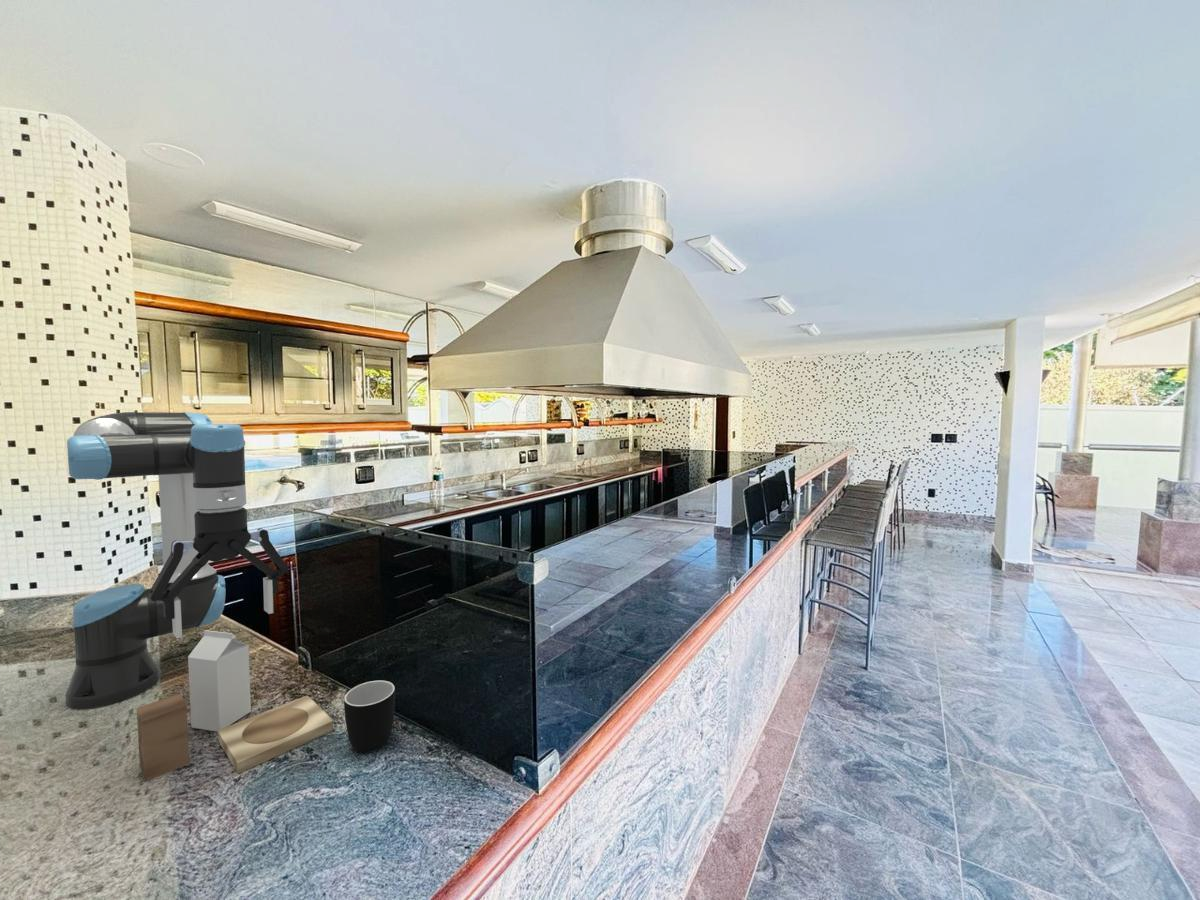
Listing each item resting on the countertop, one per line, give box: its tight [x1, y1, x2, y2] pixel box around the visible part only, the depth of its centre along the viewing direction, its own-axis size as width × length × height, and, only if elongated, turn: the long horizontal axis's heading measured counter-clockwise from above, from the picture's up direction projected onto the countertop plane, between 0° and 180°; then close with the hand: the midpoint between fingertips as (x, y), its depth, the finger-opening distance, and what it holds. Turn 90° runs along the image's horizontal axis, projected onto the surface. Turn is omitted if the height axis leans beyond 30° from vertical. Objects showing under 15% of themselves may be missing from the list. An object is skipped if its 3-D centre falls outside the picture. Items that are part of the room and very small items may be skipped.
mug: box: [343, 680, 396, 754], centre depth 95 cm, size 12×9×10 cm
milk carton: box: [187, 629, 252, 733], centre depth 101 cm, size 7×7×19 cm
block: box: [136, 693, 190, 783], centre depth 88 cm, size 6×6×11 cm
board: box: [217, 695, 335, 775], centre depth 96 cm, size 14×16×2 cm
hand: (225, 623), depth 89 cm, fingers open, 13 cm apart
